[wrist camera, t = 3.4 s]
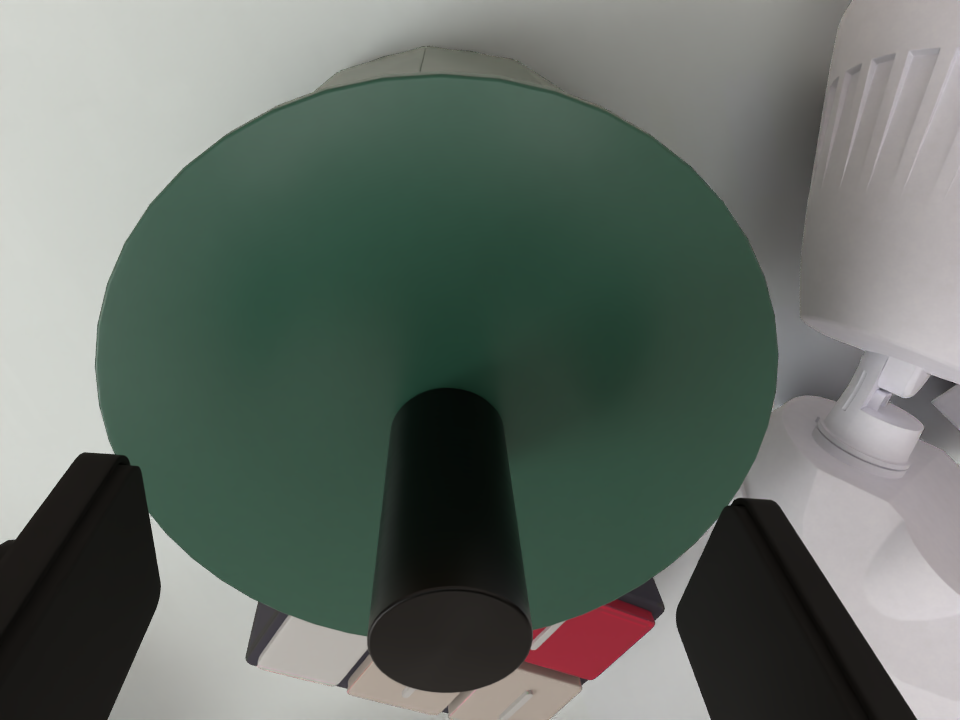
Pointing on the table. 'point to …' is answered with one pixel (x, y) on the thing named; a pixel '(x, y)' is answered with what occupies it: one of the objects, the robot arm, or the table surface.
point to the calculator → (474, 714)
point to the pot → (439, 66)
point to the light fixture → (883, 345)
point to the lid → (437, 364)
